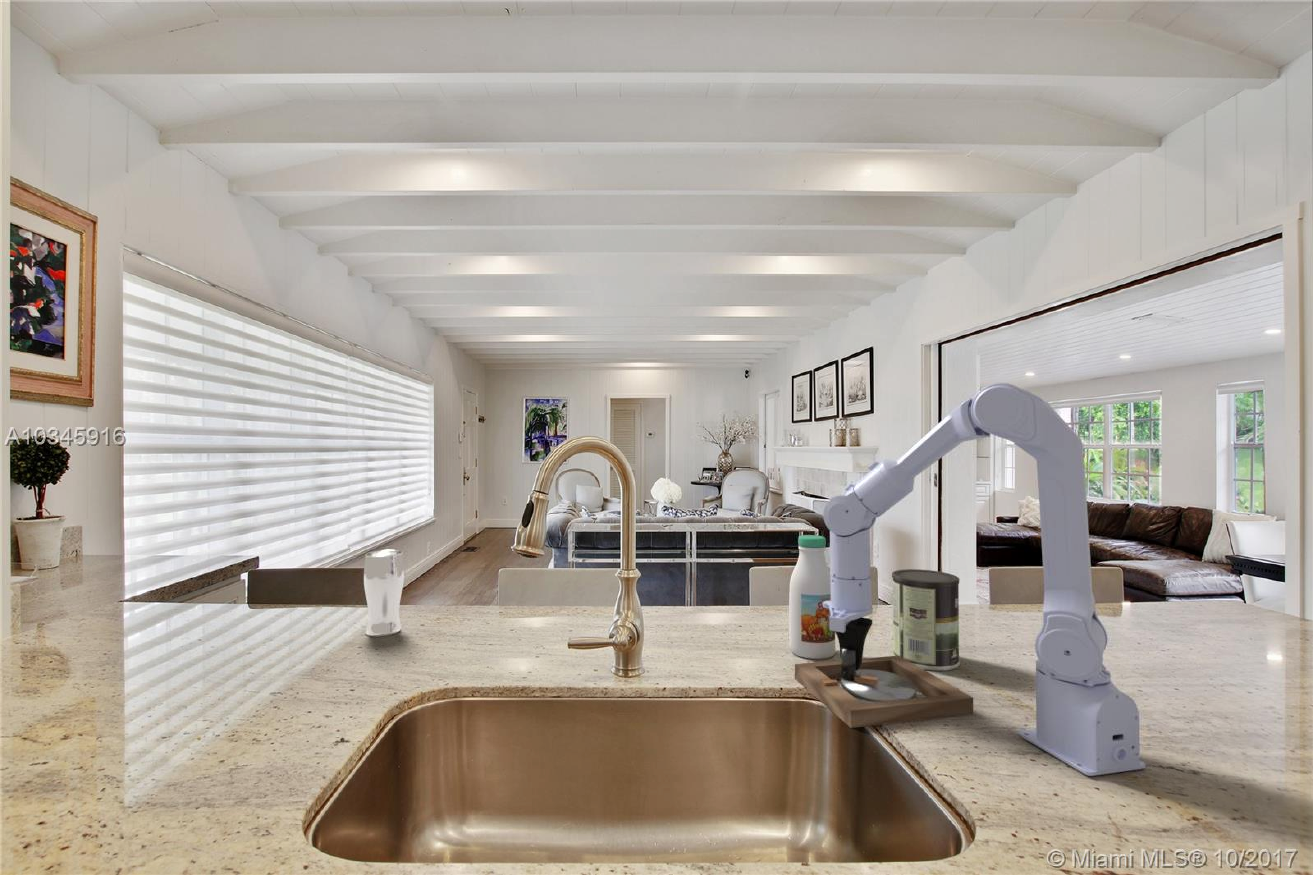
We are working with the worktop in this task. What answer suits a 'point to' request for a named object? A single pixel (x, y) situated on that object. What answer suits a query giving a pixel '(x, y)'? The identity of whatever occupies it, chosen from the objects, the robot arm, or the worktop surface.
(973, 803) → the worktop surface
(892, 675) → the dial
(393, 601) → the beer glass
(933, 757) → the worktop surface
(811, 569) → the milk bottle
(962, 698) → the frame
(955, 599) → the coffee can
